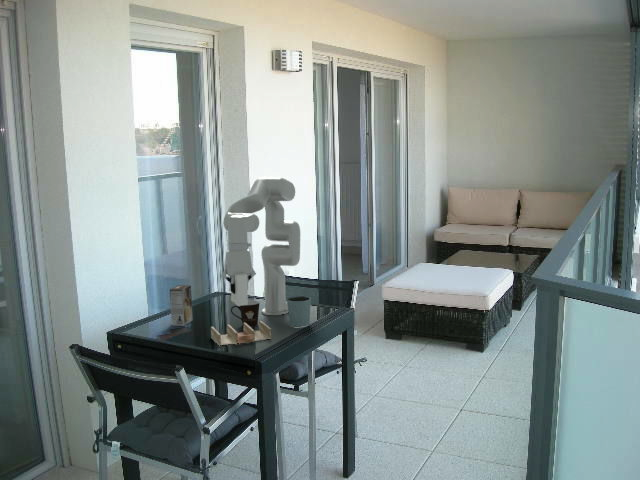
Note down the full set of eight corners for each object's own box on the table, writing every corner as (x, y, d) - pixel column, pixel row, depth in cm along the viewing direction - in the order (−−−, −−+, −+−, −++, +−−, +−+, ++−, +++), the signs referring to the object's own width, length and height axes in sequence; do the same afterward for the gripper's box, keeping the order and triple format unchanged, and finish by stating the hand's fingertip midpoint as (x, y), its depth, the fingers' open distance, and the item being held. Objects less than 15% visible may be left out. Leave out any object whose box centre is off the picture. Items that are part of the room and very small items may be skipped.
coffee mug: (263, 323, 300) (262, 300, 298) (255, 328, 292) (254, 305, 290) (239, 321, 303) (238, 299, 302) (230, 326, 295) (229, 303, 294)
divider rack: (261, 331, 287) (261, 320, 286) (271, 340, 275) (271, 328, 274) (211, 337, 279) (210, 326, 279) (219, 346, 267) (219, 335, 266)
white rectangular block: (240, 299, 280) (240, 270, 278) (247, 304, 271) (247, 274, 269) (231, 300, 278) (230, 271, 277) (238, 305, 269) (237, 275, 268)
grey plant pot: (315, 324, 297) (314, 296, 296) (304, 330, 288) (304, 302, 286) (294, 321, 302) (293, 294, 300) (283, 327, 293) (282, 300, 291)
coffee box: (179, 320, 307) (177, 284, 305) (193, 320, 306) (191, 285, 303) (171, 325, 298) (169, 289, 296) (184, 326, 297) (183, 289, 295)
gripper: (255, 244, 278) (256, 289, 281) (214, 247, 272) (216, 292, 274) (261, 246, 271) (262, 292, 274) (219, 249, 265) (220, 296, 267)
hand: (239, 292), depth 274 cm, fingers closed on white rectangular block, 4 cm apart
